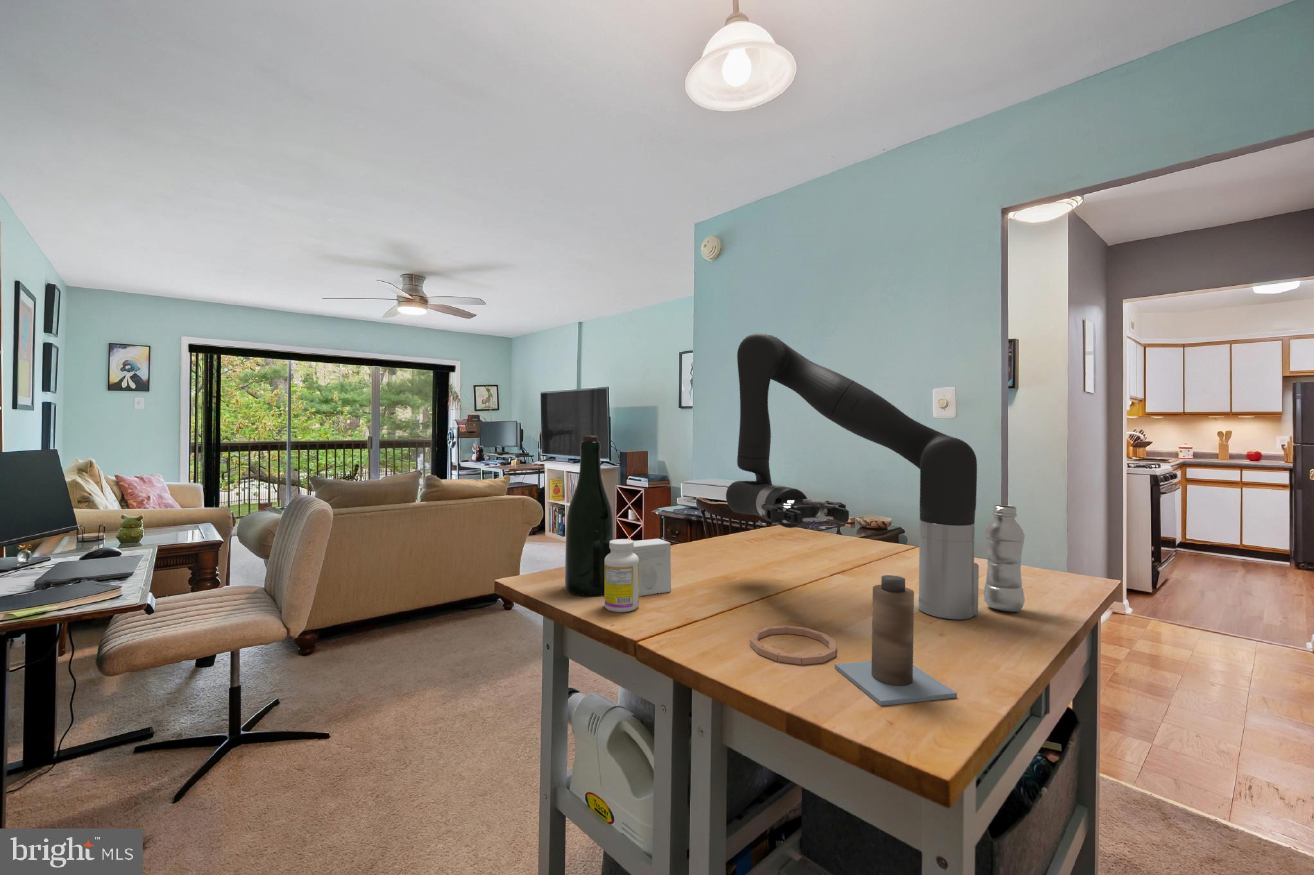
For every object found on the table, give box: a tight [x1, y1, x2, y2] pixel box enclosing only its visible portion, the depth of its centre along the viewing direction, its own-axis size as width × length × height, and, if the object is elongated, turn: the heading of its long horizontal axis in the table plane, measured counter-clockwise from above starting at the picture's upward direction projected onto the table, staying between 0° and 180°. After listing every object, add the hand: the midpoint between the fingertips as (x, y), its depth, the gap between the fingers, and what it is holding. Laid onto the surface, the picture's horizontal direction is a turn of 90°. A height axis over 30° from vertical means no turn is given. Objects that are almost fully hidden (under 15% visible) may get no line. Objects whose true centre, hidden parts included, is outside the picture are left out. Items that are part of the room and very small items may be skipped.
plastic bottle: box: [982, 504, 1025, 612], centre depth 106 cm, size 6×7×20 cm
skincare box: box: [633, 538, 672, 597], centre depth 117 cm, size 10×6×10 cm, turn 115°
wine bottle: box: [564, 434, 615, 597], centre depth 117 cm, size 10×10×33 cm
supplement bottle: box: [603, 538, 640, 613], centre depth 106 cm, size 7×7×13 cm
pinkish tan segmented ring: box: [749, 625, 837, 665], centre depth 87 cm, size 13×13×1 cm
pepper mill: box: [871, 574, 915, 686], centre depth 75 cm, size 5×5×14 cm
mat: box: [834, 660, 958, 707], centre depth 75 cm, size 11×11×1 cm
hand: (823, 517), depth 92 cm, fingers open, 8 cm apart
